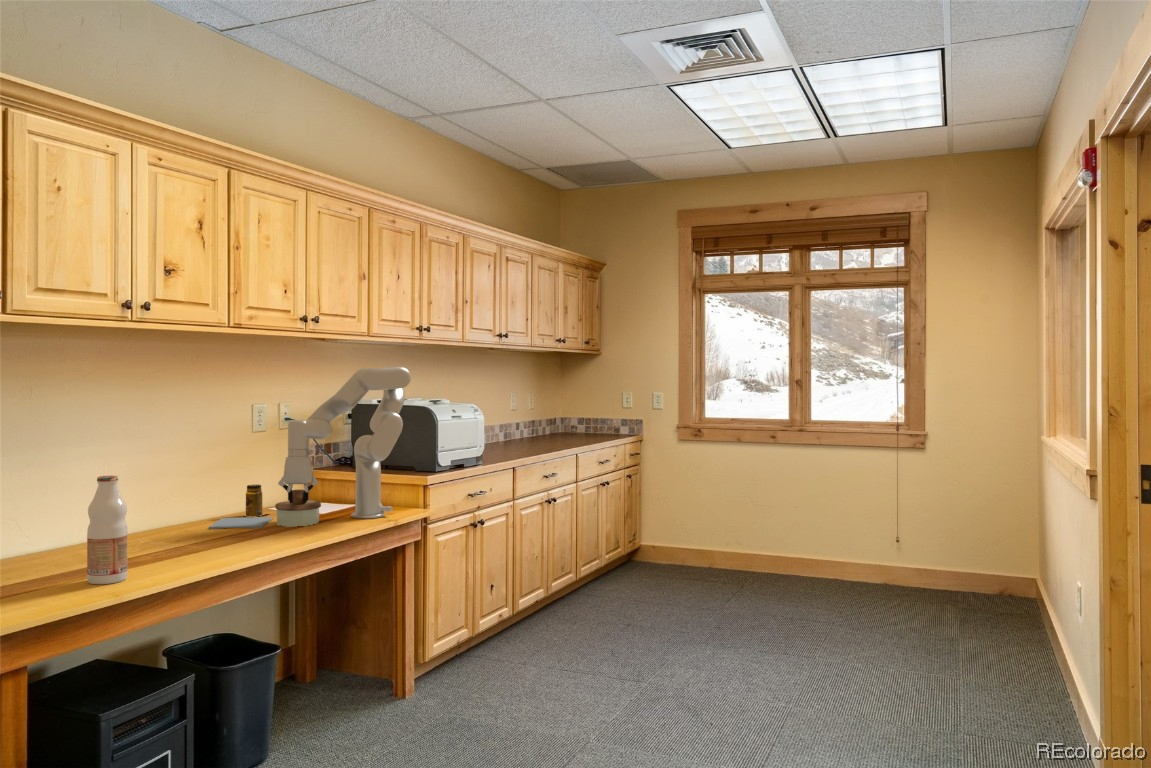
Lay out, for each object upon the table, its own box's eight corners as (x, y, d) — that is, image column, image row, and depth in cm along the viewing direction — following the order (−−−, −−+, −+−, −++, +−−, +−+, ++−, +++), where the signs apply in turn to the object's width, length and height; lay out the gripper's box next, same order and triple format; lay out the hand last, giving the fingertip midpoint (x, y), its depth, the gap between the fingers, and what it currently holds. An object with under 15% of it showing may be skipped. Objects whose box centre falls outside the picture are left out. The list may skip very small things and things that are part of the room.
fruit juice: (91, 587, 216) (92, 479, 216) (83, 580, 223) (83, 476, 223) (131, 581, 223) (132, 476, 222) (121, 574, 230) (122, 473, 229)
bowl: (320, 519, 316) (320, 503, 316) (314, 526, 302) (314, 509, 302) (282, 520, 314) (282, 504, 314) (274, 527, 300) (274, 510, 300)
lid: (323, 503, 317) (324, 487, 317) (317, 510, 301) (317, 493, 301) (280, 503, 315) (280, 487, 315) (271, 510, 299) (271, 493, 299)
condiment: (240, 516, 320) (240, 485, 320) (256, 513, 328) (256, 483, 328) (255, 518, 318) (256, 486, 318) (271, 514, 326) (271, 484, 326)
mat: (272, 519, 315) (272, 517, 315) (261, 528, 298) (261, 526, 298) (222, 520, 313) (222, 517, 313) (208, 529, 295) (208, 526, 295)
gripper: (323, 452, 313) (323, 500, 313) (277, 452, 310) (276, 501, 310) (320, 454, 305) (320, 504, 306) (272, 454, 303) (272, 504, 303)
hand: (298, 502), depth 308 cm, fingers closed on lid, 4 cm apart
